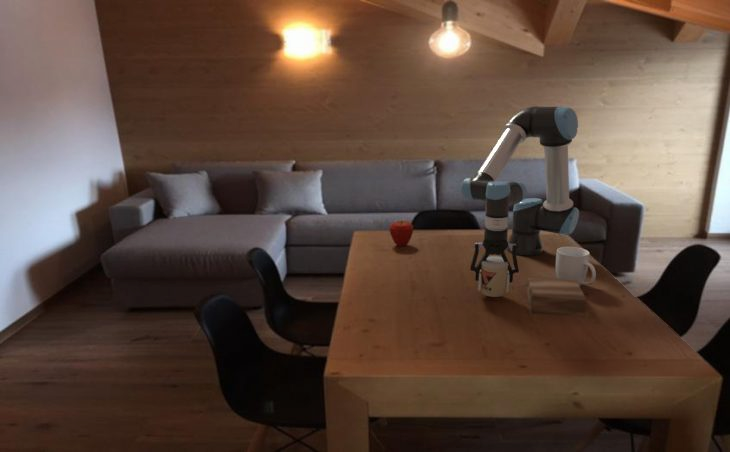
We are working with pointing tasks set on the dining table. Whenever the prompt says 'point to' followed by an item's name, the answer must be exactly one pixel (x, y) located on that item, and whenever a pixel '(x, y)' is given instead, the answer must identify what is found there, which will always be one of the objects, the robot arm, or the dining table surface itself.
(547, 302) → the riser
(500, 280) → the coffee cup
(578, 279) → the mug
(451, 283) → the dining table surface
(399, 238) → the apple
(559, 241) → the dining table surface
